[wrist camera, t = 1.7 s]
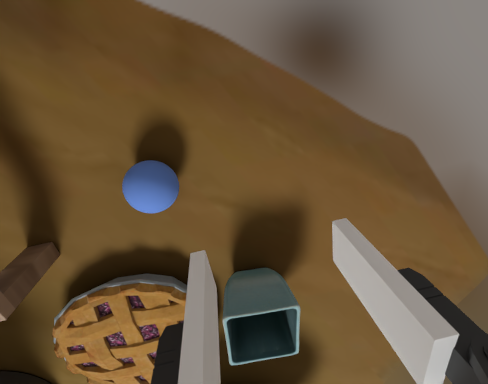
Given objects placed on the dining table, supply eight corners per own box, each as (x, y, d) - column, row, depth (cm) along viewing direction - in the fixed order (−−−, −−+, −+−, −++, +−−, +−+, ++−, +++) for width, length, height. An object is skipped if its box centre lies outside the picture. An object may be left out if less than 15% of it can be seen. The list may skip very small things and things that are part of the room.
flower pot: (218, 262, 35) (221, 319, 27) (279, 253, 35) (301, 305, 27) (225, 306, 38) (229, 367, 30) (280, 297, 39) (299, 354, 31)
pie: (233, 342, 43) (236, 373, 38) (110, 378, 42) (99, 413, 38) (190, 244, 33) (188, 271, 29) (32, 290, 33) (4, 324, 28)
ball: (141, 203, 29) (127, 228, 24) (123, 159, 27) (104, 178, 22) (187, 193, 30) (182, 216, 25) (173, 149, 27) (165, 165, 22)
